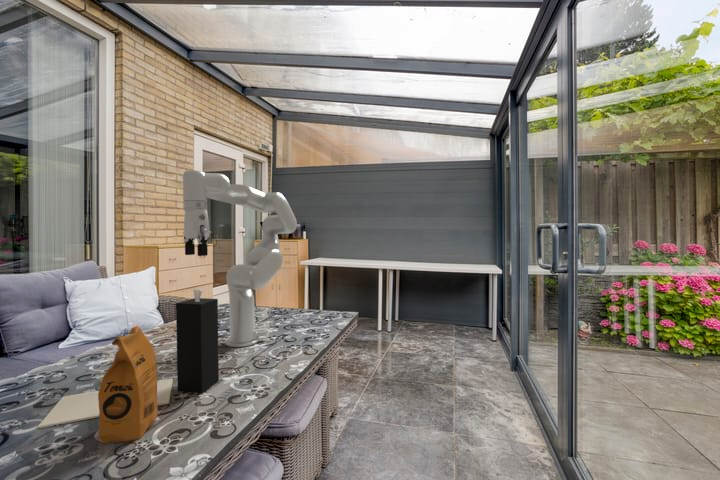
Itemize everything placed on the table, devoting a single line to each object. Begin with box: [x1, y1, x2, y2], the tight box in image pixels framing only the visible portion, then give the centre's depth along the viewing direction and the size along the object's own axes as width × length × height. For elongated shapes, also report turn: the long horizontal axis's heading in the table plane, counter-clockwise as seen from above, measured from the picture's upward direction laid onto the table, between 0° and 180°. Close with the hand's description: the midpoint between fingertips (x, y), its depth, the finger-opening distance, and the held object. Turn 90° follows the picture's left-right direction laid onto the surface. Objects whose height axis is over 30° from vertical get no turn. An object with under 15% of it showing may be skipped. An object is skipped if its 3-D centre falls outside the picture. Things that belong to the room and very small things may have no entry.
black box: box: [175, 289, 220, 394], centre depth 98 cm, size 8×8×28 cm
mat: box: [37, 378, 174, 430], centre depth 90 cm, size 26×16×1 cm, turn 115°
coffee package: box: [98, 325, 159, 444], centre depth 77 cm, size 10×12×22 cm
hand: (196, 255), depth 119 cm, fingers open, 9 cm apart
